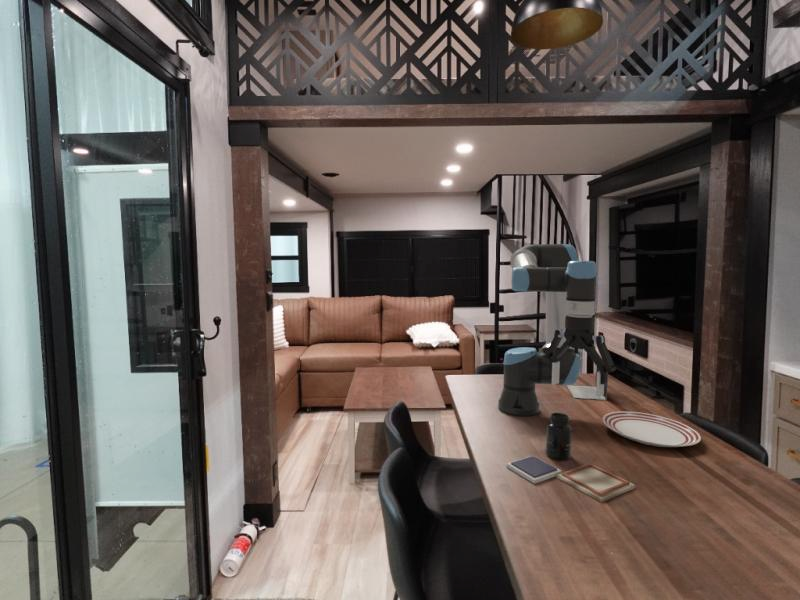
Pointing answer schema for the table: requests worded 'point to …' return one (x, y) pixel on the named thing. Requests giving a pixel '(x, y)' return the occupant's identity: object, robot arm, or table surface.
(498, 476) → the table surface
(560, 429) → the supplement bottle
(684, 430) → the dinner plate
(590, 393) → the laptop
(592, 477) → the board
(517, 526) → the table surface
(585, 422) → the table surface
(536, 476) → the ink pad
